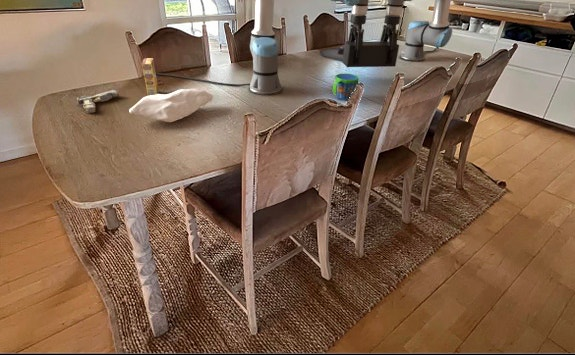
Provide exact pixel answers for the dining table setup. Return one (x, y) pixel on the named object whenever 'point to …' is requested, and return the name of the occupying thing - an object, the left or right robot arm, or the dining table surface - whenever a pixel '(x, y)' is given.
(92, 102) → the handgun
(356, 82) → the snack cup
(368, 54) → the box
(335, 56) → the grey round platform
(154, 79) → the candy box
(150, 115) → the crumpled cloth
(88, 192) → the dining table surface
